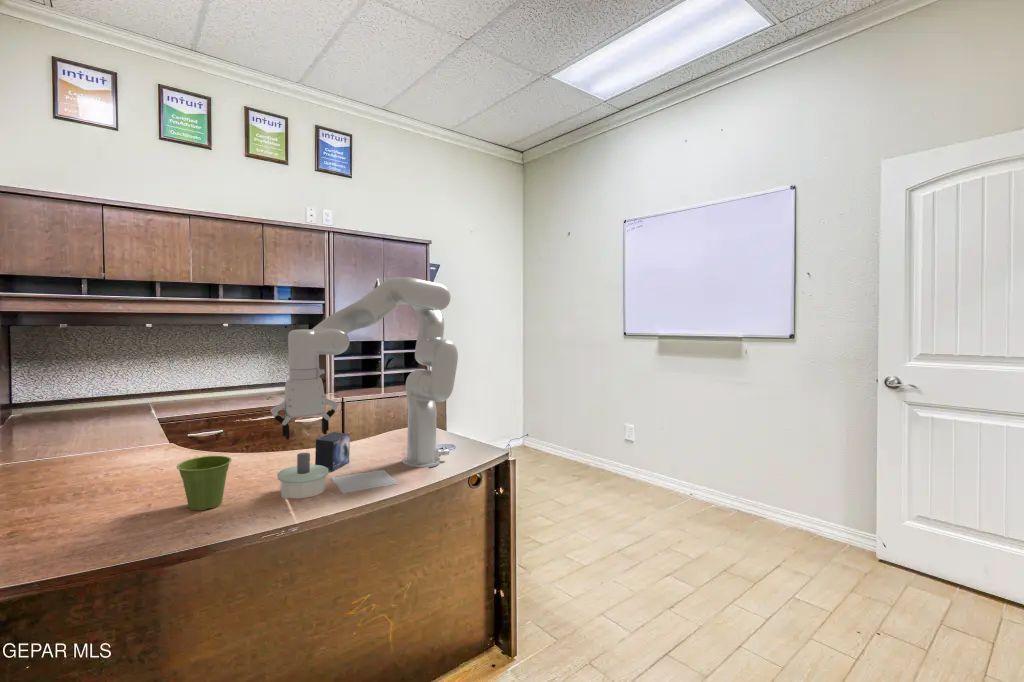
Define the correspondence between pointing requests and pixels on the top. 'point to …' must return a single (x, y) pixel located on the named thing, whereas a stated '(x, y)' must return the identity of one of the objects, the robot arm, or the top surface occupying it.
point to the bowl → (302, 489)
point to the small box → (333, 450)
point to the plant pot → (204, 480)
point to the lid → (302, 471)
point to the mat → (363, 481)
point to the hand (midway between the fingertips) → (306, 435)
